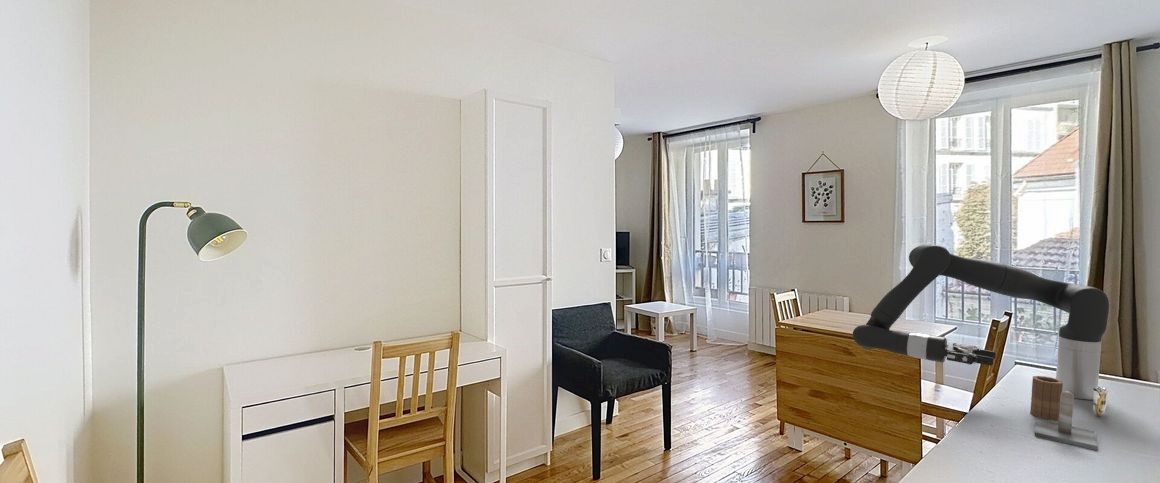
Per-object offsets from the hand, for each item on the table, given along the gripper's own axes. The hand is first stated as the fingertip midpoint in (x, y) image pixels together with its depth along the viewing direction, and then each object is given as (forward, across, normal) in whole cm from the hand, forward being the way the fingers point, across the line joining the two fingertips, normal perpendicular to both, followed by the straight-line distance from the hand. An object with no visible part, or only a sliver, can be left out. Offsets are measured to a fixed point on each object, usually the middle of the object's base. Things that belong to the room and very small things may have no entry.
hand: (994, 358), depth 147 cm
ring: (+23, +10, +13) cm, 28 cm away
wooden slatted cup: (+12, 0, +13) cm, 18 cm away
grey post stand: (+15, -13, +13) cm, 24 cm away
